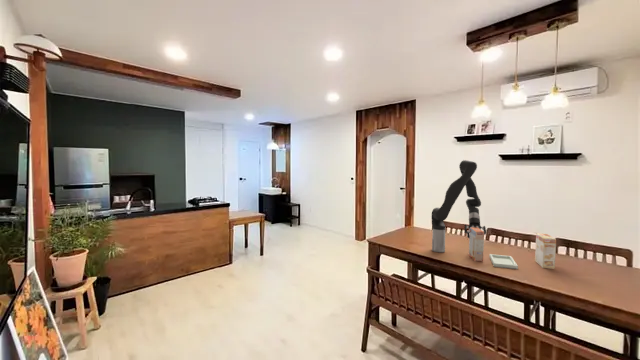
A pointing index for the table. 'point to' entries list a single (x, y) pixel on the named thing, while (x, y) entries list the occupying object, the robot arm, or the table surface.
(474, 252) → the cracker box
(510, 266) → the sage tray
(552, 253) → the coffeecake box
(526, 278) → the table surface
